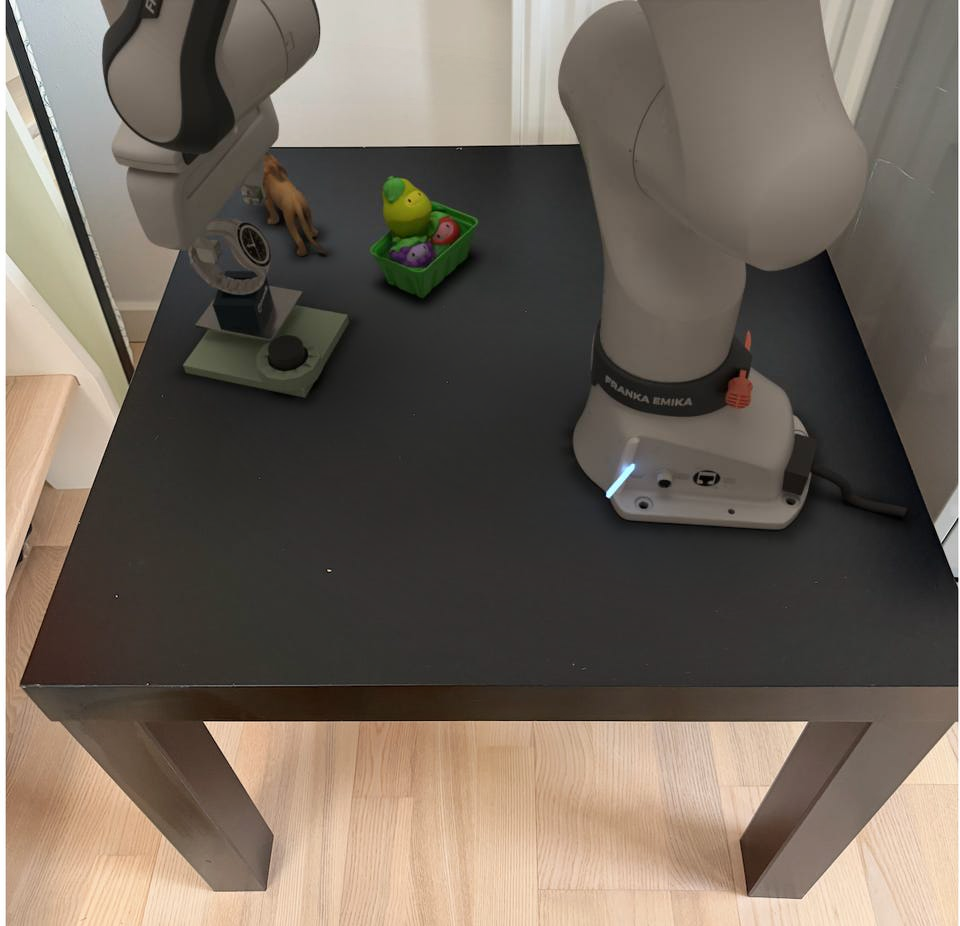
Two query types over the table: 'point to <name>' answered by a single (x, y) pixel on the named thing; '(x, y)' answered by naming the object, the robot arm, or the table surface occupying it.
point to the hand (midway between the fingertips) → (234, 229)
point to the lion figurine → (287, 203)
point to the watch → (238, 274)
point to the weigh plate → (272, 322)
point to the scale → (251, 357)
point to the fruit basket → (420, 238)
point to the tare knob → (286, 353)
